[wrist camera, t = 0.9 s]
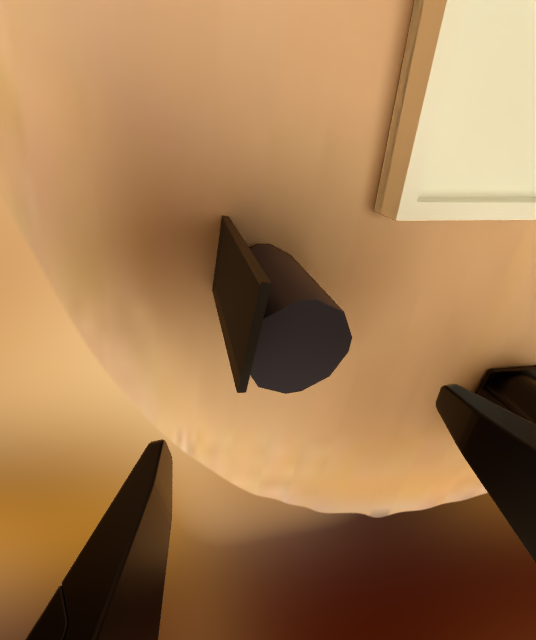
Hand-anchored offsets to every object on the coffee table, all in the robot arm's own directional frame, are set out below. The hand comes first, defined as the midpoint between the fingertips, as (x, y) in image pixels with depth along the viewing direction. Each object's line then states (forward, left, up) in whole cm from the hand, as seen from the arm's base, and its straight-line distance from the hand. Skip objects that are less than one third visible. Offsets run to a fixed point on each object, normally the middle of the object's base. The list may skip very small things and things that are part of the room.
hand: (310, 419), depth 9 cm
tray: (-13, -10, -14) cm, 21 cm away
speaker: (0, 0, -14) cm, 14 cm away
